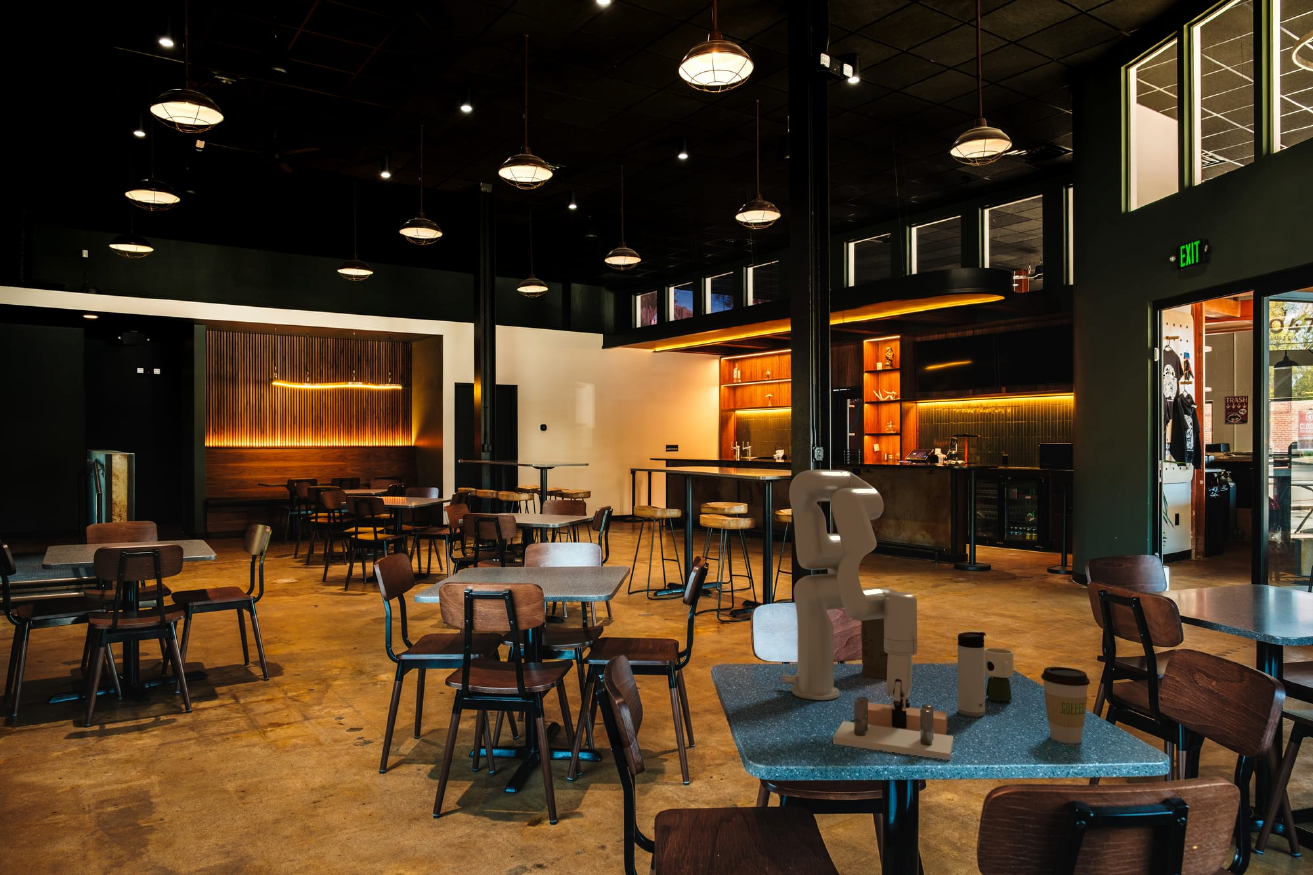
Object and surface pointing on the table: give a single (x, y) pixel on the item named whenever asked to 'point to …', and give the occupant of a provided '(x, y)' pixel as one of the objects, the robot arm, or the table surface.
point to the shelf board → (883, 717)
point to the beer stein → (873, 649)
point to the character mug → (998, 673)
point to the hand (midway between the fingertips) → (901, 722)
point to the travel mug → (971, 674)
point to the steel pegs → (925, 720)
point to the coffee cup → (1065, 702)
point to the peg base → (894, 741)
